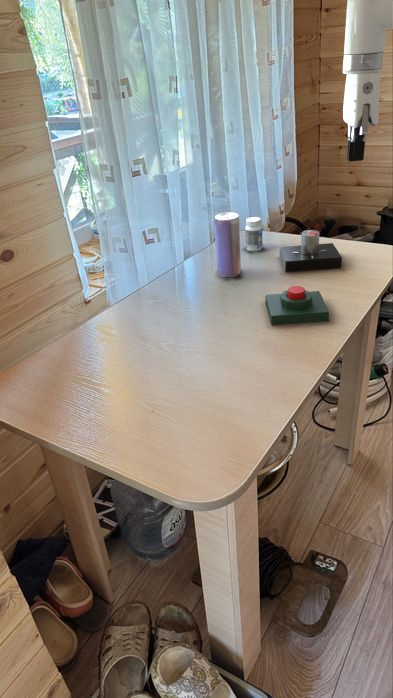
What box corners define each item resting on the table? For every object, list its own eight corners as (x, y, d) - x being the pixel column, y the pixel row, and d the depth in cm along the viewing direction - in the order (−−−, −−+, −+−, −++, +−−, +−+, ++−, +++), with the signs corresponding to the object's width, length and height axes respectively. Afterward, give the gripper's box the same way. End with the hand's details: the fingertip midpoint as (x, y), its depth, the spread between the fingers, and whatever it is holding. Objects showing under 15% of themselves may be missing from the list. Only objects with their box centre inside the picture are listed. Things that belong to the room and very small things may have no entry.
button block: (318, 299, 116) (319, 283, 114) (328, 321, 107) (329, 304, 105) (265, 303, 116) (265, 287, 114) (271, 325, 108) (271, 308, 105)
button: (303, 292, 111) (303, 285, 110) (306, 300, 108) (306, 292, 107) (286, 293, 111) (286, 286, 110) (289, 301, 108) (289, 293, 107)
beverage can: (222, 280, 128) (218, 221, 121) (214, 271, 133) (211, 214, 125) (244, 275, 130) (242, 217, 122) (236, 267, 135) (234, 210, 127)
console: (331, 253, 137) (332, 242, 136) (341, 268, 129) (342, 256, 127) (279, 257, 138) (279, 246, 136) (285, 272, 129) (285, 260, 128)
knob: (297, 251, 133) (298, 231, 130) (310, 247, 134) (311, 227, 132) (308, 256, 129) (309, 236, 126) (322, 252, 131) (323, 231, 128)
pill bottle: (262, 251, 142) (261, 221, 138) (245, 251, 143) (244, 222, 139) (262, 245, 146) (262, 216, 142) (246, 245, 147) (245, 216, 143)
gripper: (394, 64, 95) (383, 166, 105) (370, 60, 108) (362, 151, 117) (354, 68, 95) (346, 169, 105) (334, 63, 108) (329, 154, 118)
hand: (354, 160), depth 111 cm, fingers closed
